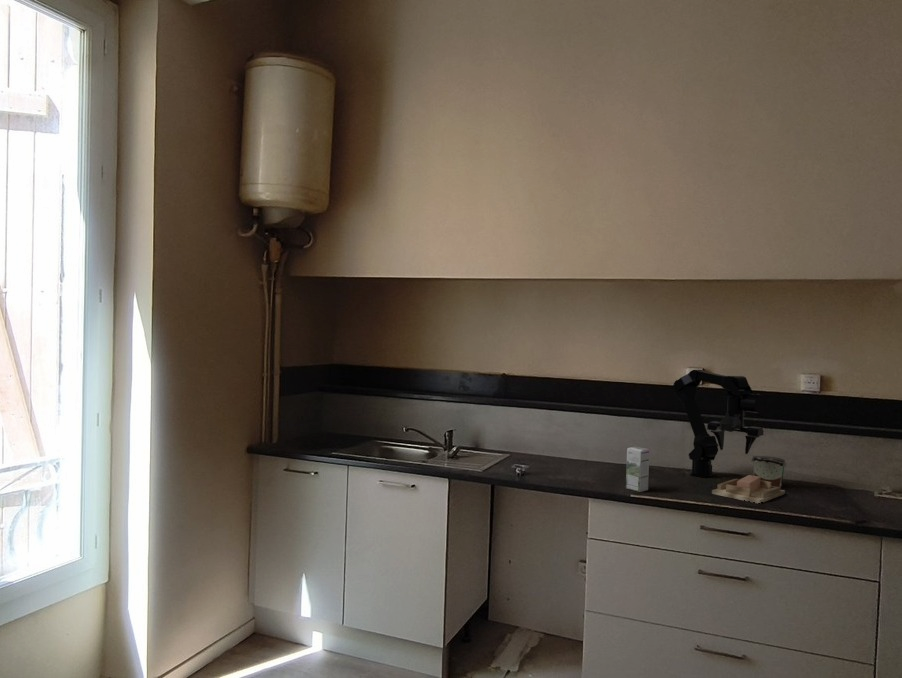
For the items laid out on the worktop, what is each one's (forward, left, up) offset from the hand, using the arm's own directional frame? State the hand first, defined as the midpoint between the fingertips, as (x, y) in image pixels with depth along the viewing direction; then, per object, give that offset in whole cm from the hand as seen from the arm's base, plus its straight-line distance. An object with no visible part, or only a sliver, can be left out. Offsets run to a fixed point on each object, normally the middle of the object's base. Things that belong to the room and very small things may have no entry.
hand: (733, 451), depth 242 cm
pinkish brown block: (+10, -10, -11) cm, 18 cm away
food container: (+9, +12, -12) cm, 19 cm away
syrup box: (-17, -38, -12) cm, 43 cm away
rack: (+10, -10, -12) cm, 19 cm away
